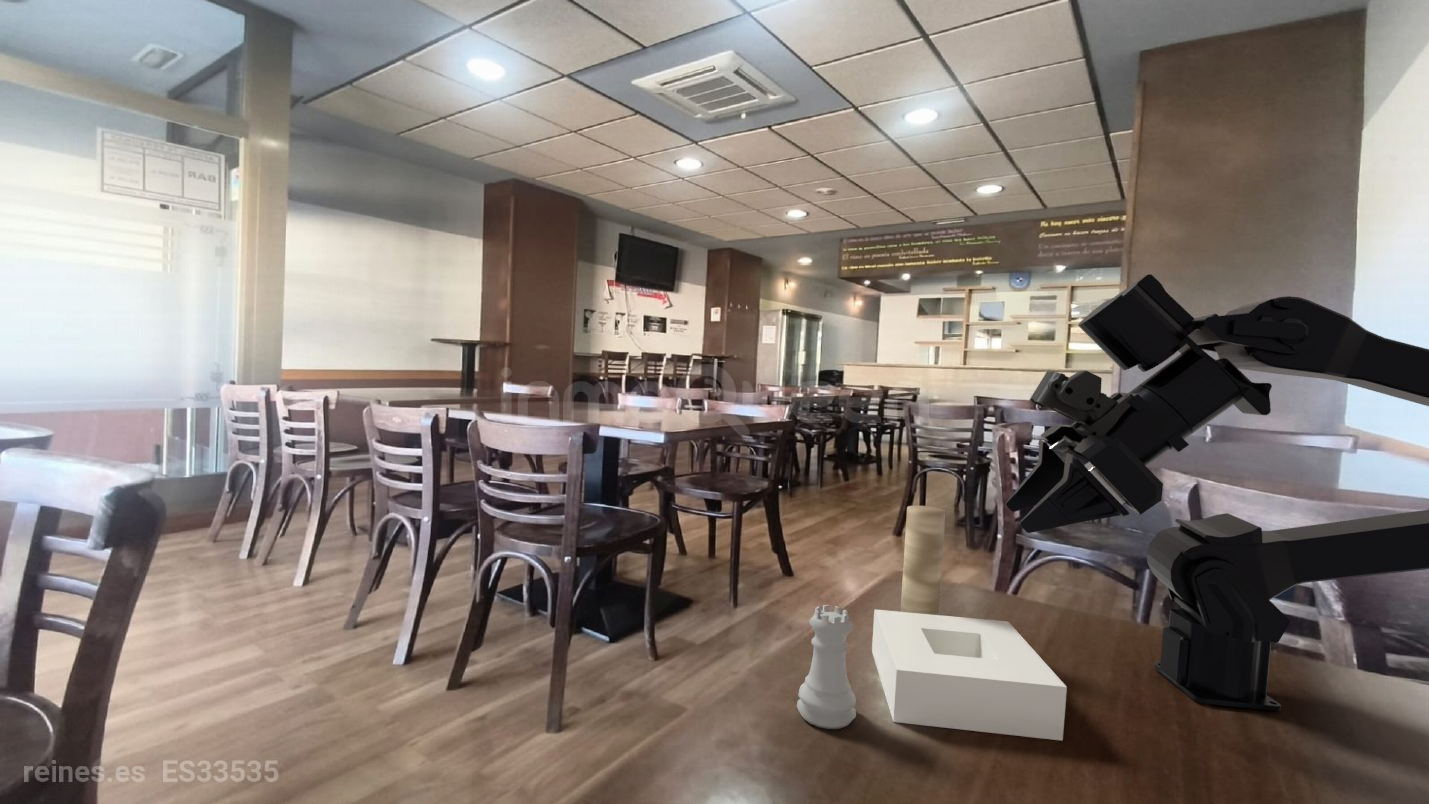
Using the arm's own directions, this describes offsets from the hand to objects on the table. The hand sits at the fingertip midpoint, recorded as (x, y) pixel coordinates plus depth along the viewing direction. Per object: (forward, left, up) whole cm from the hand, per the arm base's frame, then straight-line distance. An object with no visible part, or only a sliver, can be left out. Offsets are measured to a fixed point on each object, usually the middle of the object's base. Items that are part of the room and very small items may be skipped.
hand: (1015, 517), depth 58 cm
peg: (+8, -2, -13) cm, 15 cm away
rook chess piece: (+18, +14, -13) cm, 27 cm away
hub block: (+7, +8, -13) cm, 17 cm away
